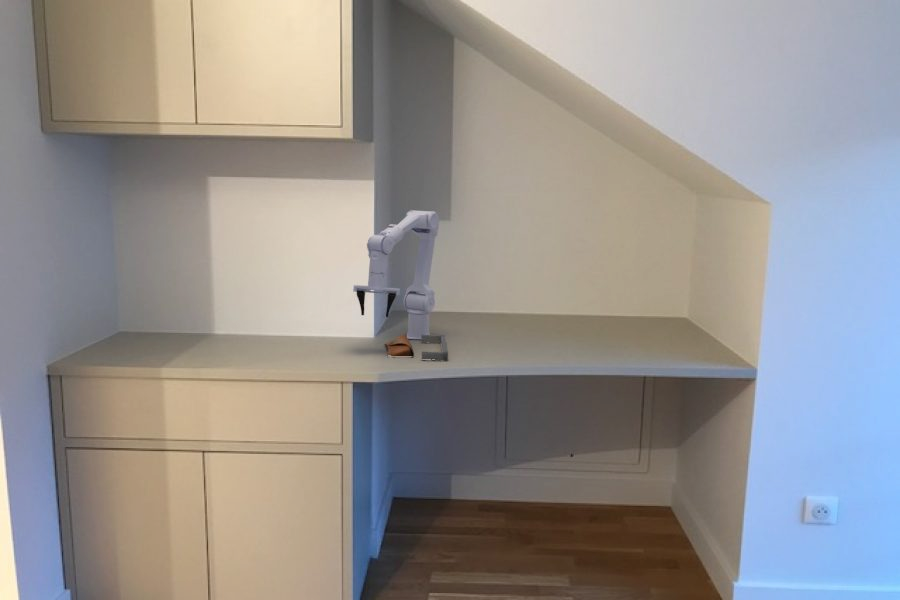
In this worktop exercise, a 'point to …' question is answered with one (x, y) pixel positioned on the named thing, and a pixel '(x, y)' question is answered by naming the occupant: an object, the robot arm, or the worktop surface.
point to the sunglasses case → (399, 347)
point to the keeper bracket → (435, 339)
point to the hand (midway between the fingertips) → (374, 315)
